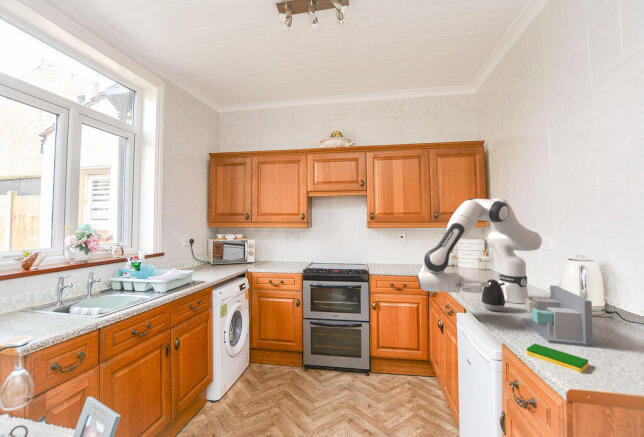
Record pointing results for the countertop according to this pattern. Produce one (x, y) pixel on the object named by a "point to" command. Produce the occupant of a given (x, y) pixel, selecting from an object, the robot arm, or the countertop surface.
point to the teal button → (542, 316)
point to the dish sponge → (558, 357)
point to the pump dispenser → (493, 296)
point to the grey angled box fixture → (565, 319)
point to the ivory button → (530, 305)
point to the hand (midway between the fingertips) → (488, 284)
